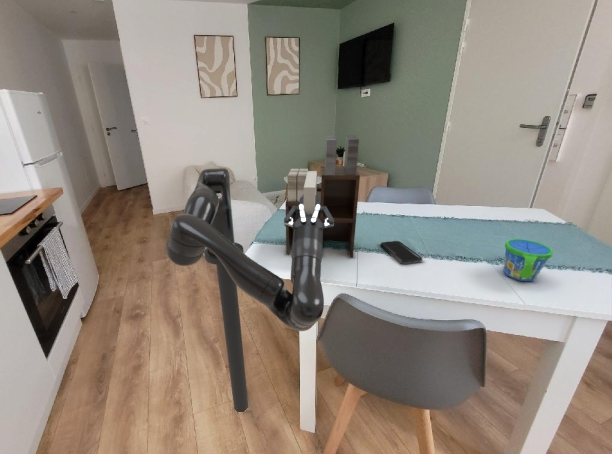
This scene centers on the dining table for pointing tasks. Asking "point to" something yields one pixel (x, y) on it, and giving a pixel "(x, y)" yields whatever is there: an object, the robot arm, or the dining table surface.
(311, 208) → the white book
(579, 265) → the dining table surface
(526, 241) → the snack cup
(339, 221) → the bookcase
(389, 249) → the phone
